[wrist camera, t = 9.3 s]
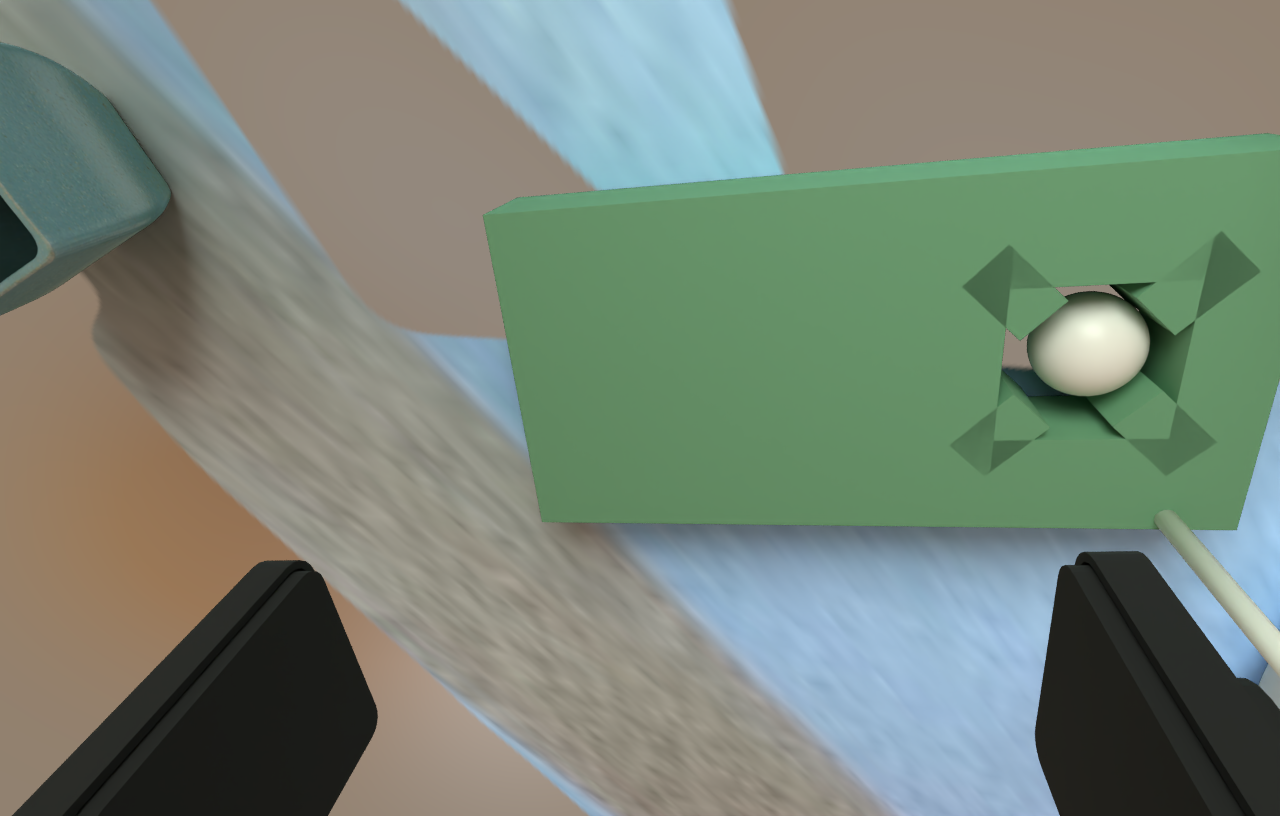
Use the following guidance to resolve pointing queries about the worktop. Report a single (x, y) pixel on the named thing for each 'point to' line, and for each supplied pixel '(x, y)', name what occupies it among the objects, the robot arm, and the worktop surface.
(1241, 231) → the putting mat
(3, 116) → the flower pot
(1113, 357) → the ball
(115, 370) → the worktop surface
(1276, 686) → the bowl
